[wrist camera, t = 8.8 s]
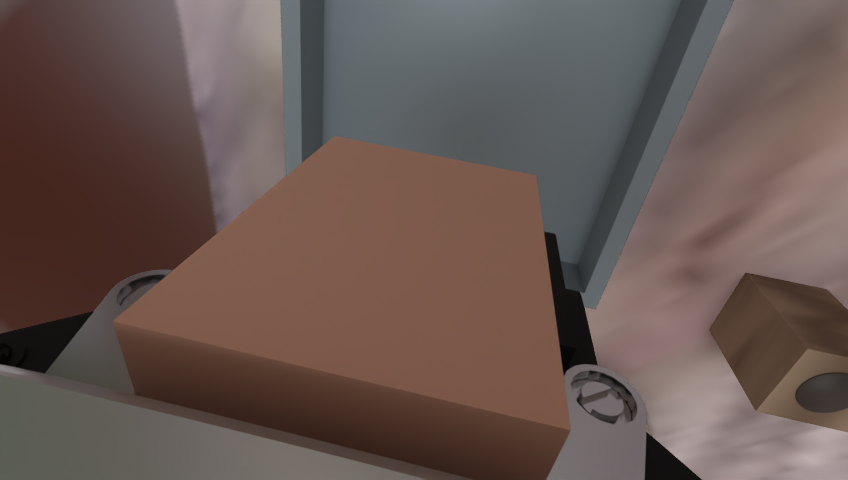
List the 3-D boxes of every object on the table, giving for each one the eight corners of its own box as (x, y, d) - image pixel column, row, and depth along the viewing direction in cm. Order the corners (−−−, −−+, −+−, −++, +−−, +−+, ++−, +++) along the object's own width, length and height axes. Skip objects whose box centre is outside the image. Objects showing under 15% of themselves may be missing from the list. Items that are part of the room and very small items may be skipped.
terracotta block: (536, 175, 10) (572, 438, 4) (490, 330, 13) (472, 632, 7) (334, 135, 11) (105, 327, 5) (329, 294, 13) (178, 549, 7)
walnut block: (826, 289, 28) (913, 372, 22) (782, 344, 30) (848, 433, 24) (745, 272, 28) (808, 350, 22) (708, 329, 31) (756, 412, 25)
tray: (730, -79, 20) (775, -93, 16) (586, 273, 30) (595, 309, 27) (313, -138, 21) (275, -162, 18) (312, 215, 32) (288, 242, 28)
